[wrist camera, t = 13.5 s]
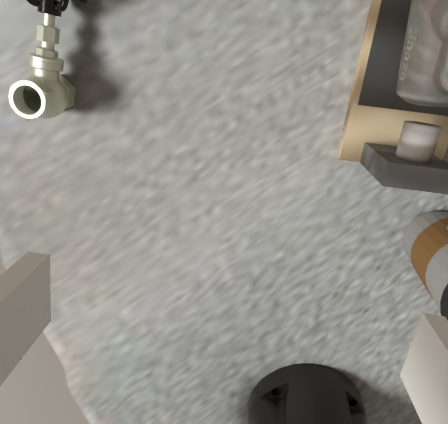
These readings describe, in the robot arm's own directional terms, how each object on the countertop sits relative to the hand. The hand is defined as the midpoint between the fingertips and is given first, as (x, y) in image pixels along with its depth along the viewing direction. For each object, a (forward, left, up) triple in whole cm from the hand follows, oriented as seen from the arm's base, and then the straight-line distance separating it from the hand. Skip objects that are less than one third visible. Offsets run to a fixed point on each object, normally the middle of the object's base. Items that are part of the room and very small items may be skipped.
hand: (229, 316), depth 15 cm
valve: (+6, +19, -31) cm, 37 cm away
